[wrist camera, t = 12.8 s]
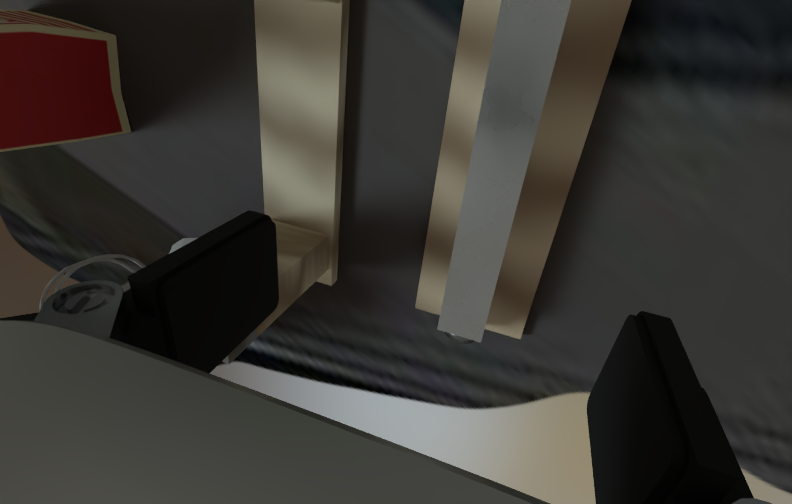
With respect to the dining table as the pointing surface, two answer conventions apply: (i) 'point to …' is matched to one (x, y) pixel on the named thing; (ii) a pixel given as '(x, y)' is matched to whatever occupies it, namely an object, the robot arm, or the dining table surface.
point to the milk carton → (57, 82)
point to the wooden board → (549, 161)
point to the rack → (301, 138)
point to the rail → (500, 158)
